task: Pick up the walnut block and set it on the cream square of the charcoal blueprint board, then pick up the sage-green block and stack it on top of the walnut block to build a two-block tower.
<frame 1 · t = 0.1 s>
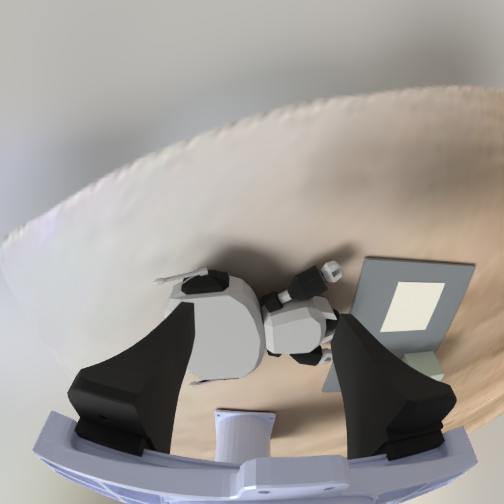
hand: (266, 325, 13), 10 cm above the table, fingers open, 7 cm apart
robot toy: (254, 309, 26), on the table
blueprint board: (399, 335, 27), on the table
sage block: (411, 365, 29), resting on blueprint board
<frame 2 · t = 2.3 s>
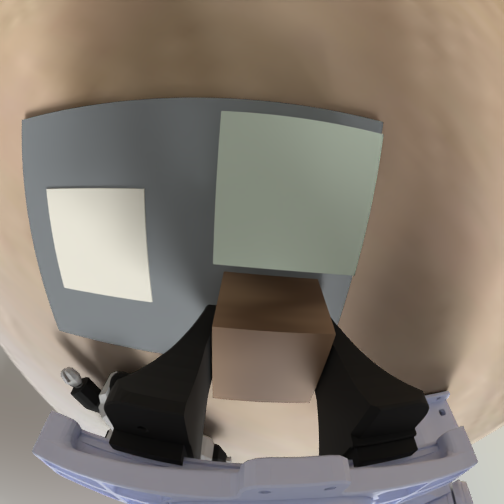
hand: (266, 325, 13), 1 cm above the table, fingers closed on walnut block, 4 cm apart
robot toy: (158, 412, 20), on the table
walnut block: (266, 313, 14), resting on blueprint board, touching gripper
blueprint board: (169, 248, 13), on the table
sage block: (284, 174, 11), resting on blueprint board
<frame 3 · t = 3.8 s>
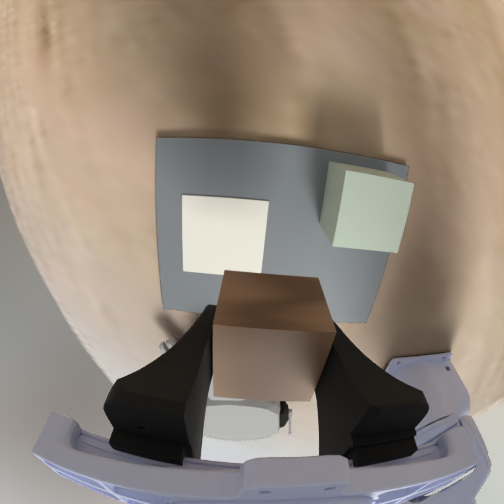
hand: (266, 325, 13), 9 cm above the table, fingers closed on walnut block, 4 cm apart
robot toy: (232, 376, 28), on the table
walnut block: (266, 311, 14), point 8 cm above the table, touching gripper
blueprint board: (278, 240, 21), on the table
sage block: (354, 197, 19), resting on blueprint board
when the fingers open (2 cm above the table, at t = 5.6 s): walnut block stays where it is, resting on blueprint board.
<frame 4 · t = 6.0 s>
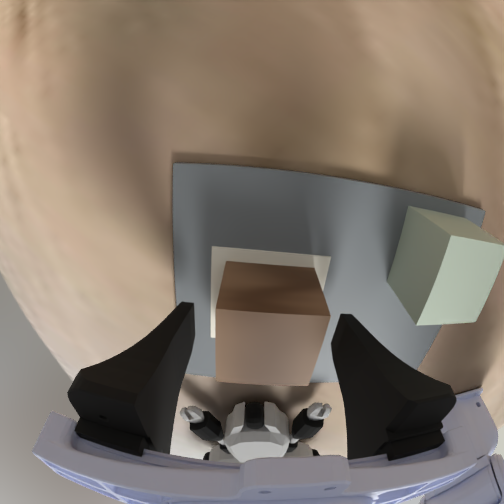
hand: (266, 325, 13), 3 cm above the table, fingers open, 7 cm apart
robot toy: (259, 429, 23), on the table
walnut block: (266, 301, 15), resting on blueprint board
blueprint board: (334, 301, 16), on the table
sage block: (428, 249, 14), resting on blueprint board
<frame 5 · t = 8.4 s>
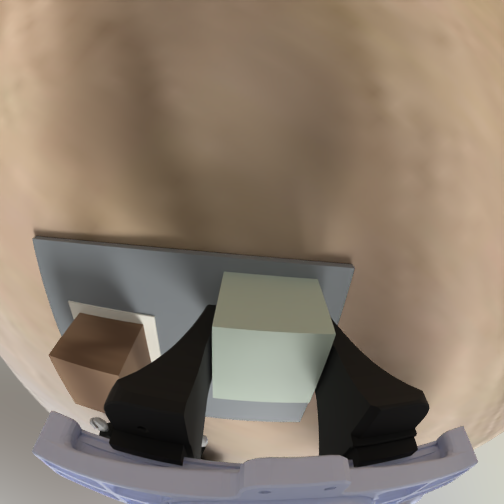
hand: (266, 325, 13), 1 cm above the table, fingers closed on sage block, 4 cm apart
robot toy: (170, 443, 23), on the table
walnut block: (117, 345, 16), resting on blueprint board
blueprint board: (177, 351, 16), on the table
sage block: (266, 313, 14), resting on blueprint board, touching gripper
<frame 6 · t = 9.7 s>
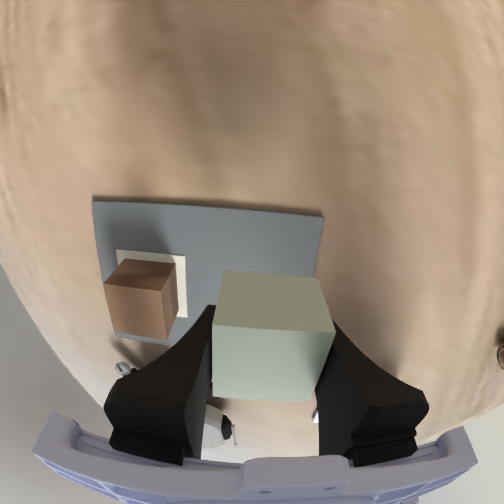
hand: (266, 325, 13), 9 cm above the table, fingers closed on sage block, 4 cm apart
robot toy: (182, 392, 30), on the table
walnut block: (151, 284, 22), resting on blueprint board
blueprint board: (199, 287, 23), on the table
sage block: (266, 311, 14), point 8 cm above the table, touching gripper
when the fingers open (6 cm above the table, at t = 11.3 s): sage block stays where it is, resting on walnut block.
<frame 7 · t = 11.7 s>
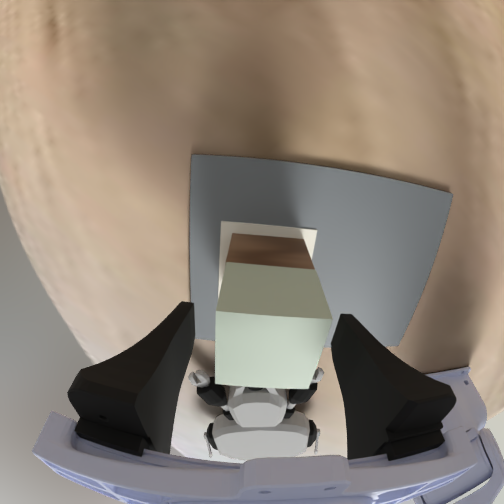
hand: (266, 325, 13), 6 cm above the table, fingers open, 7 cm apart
robot toy: (260, 399, 26), on the table
walnut block: (264, 267, 19), resting on blueprint board, touching sage block
blueprint board: (322, 269, 19), on the table
sage block: (266, 302, 15), point 4 cm above the table, touching walnut block
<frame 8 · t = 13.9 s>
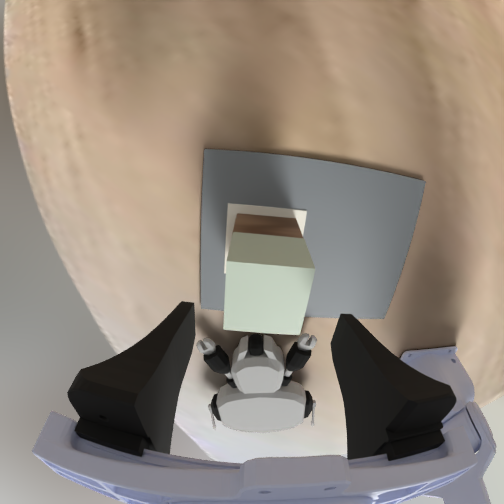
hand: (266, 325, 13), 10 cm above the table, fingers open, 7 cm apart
robot toy: (260, 371, 30), on the table
walnut block: (263, 242, 22), resting on blueprint board, touching sage block
blueprint board: (312, 245, 23), on the table
sage block: (265, 266, 19), point 4 cm above the table, touching walnut block
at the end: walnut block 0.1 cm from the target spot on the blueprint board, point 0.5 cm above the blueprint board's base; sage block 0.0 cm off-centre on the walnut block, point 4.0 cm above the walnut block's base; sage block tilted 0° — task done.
